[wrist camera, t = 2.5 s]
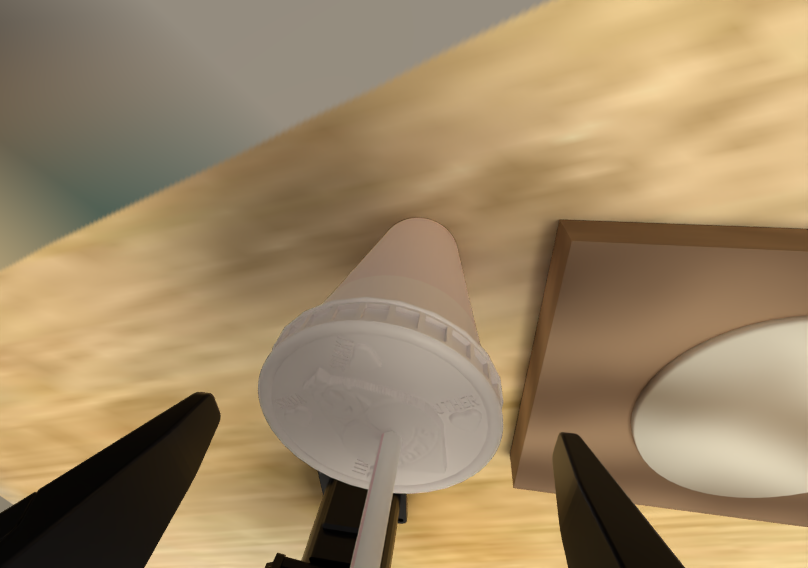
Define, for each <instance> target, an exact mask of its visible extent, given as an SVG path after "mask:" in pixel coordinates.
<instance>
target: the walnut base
mask: <svg viewBox="0 0 808 568" xmlns="http://www.w3.org/2000/svg"><path fill="white" fill-rule="evenodd" d="M560 432H567V433H575V434H578V435H579V436H580V437H581V438H582V439H583V441H584V442H585V443H586V444H587V446H588V447H589V448H590V449H591V451H592V452H593V453H594V454H595V456H596V457H597V458H598V459H599V461H600V462H601V463H602V464H603V466H604V467H605V468H606V469H607V471H608V472H609V473H610V474H611V476H612V477H613V478H614V479H615V481H616V482H617V483H618V484H619V486H620V487H621V488H622V489H623V491H624V492H625V493H626V494H627V496H628V497H629V498H630V499H631V501H632V502H633V503H634V504H637V505H645V506H653V507H660V508H668V509H675V510H683V511H690V512H698V513H705V514H713V515H720V516H728V517H735V518H743V519H750V520H758V521H765V522H773V523H780V524H788V525H795V526H803V527H808V229H791V228H764V227H738V226H712V225H685V224H659V223H633V222H606V221H580V220H559V225H558V230H557V235H556V239H555V244H554V249H553V254H552V258H551V263H550V268H549V273H548V277H547V282H546V287H545V291H544V296H543V301H542V306H541V310H540V315H539V320H538V325H537V329H536V334H535V339H534V343H533V348H532V353H531V358H530V362H529V367H528V372H527V377H526V381H525V386H524V391H523V395H522V400H521V405H520V410H519V414H518V419H517V424H516V429H515V433H514V438H513V443H512V448H511V452H510V460H511V469H512V478H513V488H517V489H525V490H532V491H540V492H547V493H555V494H556V490H555V481H554V472H553V463H552V455H553V451H554V447H555V444H556V441H557V437H558V435H559V433H560Z"/></svg>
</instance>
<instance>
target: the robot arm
mask: <svg viewBox="0 0 808 568" xmlns="http://www.w3.org/2000/svg"><path fill="white" fill-rule="evenodd" d="M220 417H221V415H220V411H219V408H218V406H217V403H216V401H215V398H214V396H213V395H212V394H211V393H205V392H196V393H194V394H192V395H190V396H189V397H187V398H186V399H184V400H182V401H181V402H179V403H177V404H176V405H174V406H173V407H171V408H169V409H168V410H166V411H165V412H163V413H161V414H160V415H158V416H156V417H155V418H153V419H152V420H150V421H148V422H147V423H145V424H144V425H142V426H140V427H139V428H137V429H136V430H134V431H132V432H131V433H129V434H127V435H126V436H124V437H123V438H121V439H119V440H118V441H116V442H115V443H113V444H111V445H110V446H108V447H106V448H105V449H103V450H102V451H100V452H98V453H97V454H95V455H94V456H92V457H90V458H89V459H87V460H86V461H84V462H82V463H81V464H79V465H77V466H76V467H74V468H73V469H71V470H69V471H68V472H66V473H65V474H63V475H61V476H60V477H58V478H56V479H55V480H53V481H52V482H50V483H48V484H47V485H45V486H44V487H42V488H40V489H39V490H38V491H37V492H34V493H32V494H31V495H29V496H27V497H26V498H24V499H22V500H21V501H19V502H18V503H16V504H14V505H13V506H11V507H9V508H8V509H6V510H4V511H3V512H1V513H0V568H144V567H145V566H146V564H147V562H148V560H149V558H150V557H151V555H152V553H153V551H154V549H155V548H156V546H157V544H158V542H159V541H160V539H161V537H162V535H163V533H164V532H165V530H166V528H167V526H168V525H169V523H170V521H171V519H172V517H173V516H174V514H175V512H176V510H177V508H178V507H179V505H180V503H181V501H182V500H183V498H184V496H185V494H186V492H187V491H188V489H189V487H190V485H191V483H192V481H193V480H194V478H195V476H196V474H197V471H198V469H199V467H200V465H201V463H202V460H203V458H204V456H205V454H206V451H207V449H208V447H209V445H210V442H211V440H212V438H213V436H214V433H215V431H216V429H217V427H218V424H219V422H220ZM552 463H553V472H554V481H555V490H556V499H557V508H558V517H559V525H560V532H561V537H562V542H563V547H564V551H565V556H566V560H567V565H568V568H685V567H684V566H683V565H682V563H681V562H680V561H679V560H678V558H677V557H676V556H675V555H674V553H673V552H672V551H671V550H670V548H669V547H668V546H667V545H666V543H665V542H664V541H663V539H662V538H661V537H660V536H659V534H658V533H657V532H656V531H655V529H654V528H653V527H652V526H651V524H650V523H649V522H648V521H647V519H646V518H645V517H644V516H643V514H642V513H641V512H640V511H639V509H638V508H637V507H636V506H635V504H634V503H633V502H632V501H631V499H630V498H629V497H628V496H627V494H626V493H625V492H624V491H623V489H622V488H621V487H620V486H619V484H618V483H617V482H616V481H615V479H614V478H613V477H612V476H611V474H610V473H609V472H608V471H607V469H606V468H605V467H604V466H603V464H602V463H601V462H600V461H599V459H598V458H597V457H596V456H595V454H594V453H593V452H592V451H591V449H590V448H589V447H588V446H587V444H586V443H585V442H584V441H583V439H582V438H581V437H580V436H579V435H578V434H575V433H567V432H560V433H559V435H558V437H557V441H556V444H555V447H554V451H553V455H552ZM318 474H319V479H320V483H321V488H322V492H323V498H322V501H321V504H320V507H319V510H318V513H317V516H316V519H315V522H314V525H313V528H312V531H311V534H310V537H309V540H308V543H307V546H306V548H305V551H304V554H303V557H302V560H301V561H300V560H296V559H292V558H288V557H286V555H284V554H280V553H277V554H276V556H275V559H274V561H273V562H270V563H267V564H266V566H265V568H350V565H351V561H352V557H353V552H354V548H355V544H356V540H357V535H358V531H359V527H360V523H361V518H362V514H363V510H364V506H365V501H366V497H367V493H368V489H364V488H360V487H357V486H353V485H349V484H347V483H344V482H342V481H339V480H337V479H334V478H331V477H329V476H327V475H326V474H324V473H322V472H320V471H318ZM406 521H407V494H405V493H393V496H392V501H391V507H390V513H389V518H388V524H387V530H386V536H385V541H384V547H383V553H382V558H381V564H380V568H391V562H392V556H393V549H394V543H395V536H396V530H397V523H400V524H403V523H406Z"/></svg>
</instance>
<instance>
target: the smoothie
mask: <svg viewBox="0 0 808 568" xmlns="http://www.w3.org/2000/svg"><path fill="white" fill-rule="evenodd" d="M258 395H259V401H260V406H261V408H262V411H263V414H264V416H265V418H266V420H267V422H268V424H269V426H270V427H271V429H272V431H273V432H274V433H275V435H276V436H277V437H278V438H279V440H280V441H281V442H282V443H283V444H284V445H285V446H286V447H287V448H288V449H289V450H290V451H291V452H292V453H293V454H294V455H296V456H297V457H298V458H299V459H301V460H302V461H304V462H305V463H307V464H308V465H310V466H311V467H312V468H314V469H316V470H318V471H320V472H322V473H324V474H326V475H327V476H329V477H331V478H334V479H337V480H339V481H342V482H344V483H347V484H349V485H353V486H357V487H360V488H364V489H368V493H367V497H366V501H365V506H364V510H363V514H362V518H361V523H360V527H359V531H358V535H357V540H356V544H355V548H354V552H353V557H352V561H351V565H350V568H380V564H381V558H382V553H383V547H384V541H385V536H386V530H387V524H388V518H389V513H390V507H391V501H392V496H393V493H405V494H411V493H423V492H431V491H435V490H440V489H444V488H448V487H450V486H453V485H455V484H458V483H460V482H463V481H465V480H466V479H468V478H470V477H471V476H473V475H475V474H476V473H477V472H479V471H480V470H481V469H482V468H483V467H485V466H486V465H487V464H488V462H489V461H490V460H491V459H492V457H493V456H494V454H495V453H496V451H497V449H498V447H499V445H500V442H501V438H502V433H503V415H502V406H503V395H502V388H501V380H500V376H499V375H498V373H497V371H496V369H495V367H494V365H493V363H492V361H491V359H490V357H489V355H488V353H487V352H486V351H485V350H484V349H483V348H482V347H481V345H480V341H479V336H478V333H477V329H476V325H475V321H474V316H473V312H472V308H471V304H470V299H469V295H468V291H467V286H466V282H465V278H464V273H463V269H462V265H461V261H460V256H459V252H458V248H457V244H456V242H455V239H454V238H453V236H452V235H451V233H450V232H449V231H448V230H447V229H446V228H445V227H444V226H442V225H441V224H439V223H437V222H435V221H433V220H430V219H425V218H410V219H406V220H403V221H401V222H399V223H397V224H395V225H394V226H393V227H391V228H390V229H389V231H388V232H387V233H386V234H385V235H384V236H383V237H382V238H381V239H380V241H379V242H378V243H377V244H376V245H375V246H374V247H373V248H372V249H371V251H370V252H369V253H368V254H367V255H366V256H365V257H364V258H363V259H362V261H361V262H360V263H359V264H358V265H357V266H356V267H355V268H354V270H353V271H352V272H351V273H350V274H349V275H348V276H347V277H346V278H345V280H344V281H343V282H342V283H341V284H340V285H339V286H338V287H337V288H336V290H335V291H334V292H333V293H332V294H331V295H330V296H329V297H328V298H327V299H326V300H325V301H324V302H323V304H321V305H319V306H316V307H314V308H311V309H308V310H306V311H304V312H303V313H302V314H300V315H299V316H298V317H297V318H295V319H294V320H293V321H292V322H291V323H289V324H288V325H287V326H286V327H284V329H283V331H282V332H281V334H280V336H279V338H278V339H277V341H276V343H275V344H274V346H273V348H272V351H271V353H270V354H269V356H268V357H267V359H266V361H265V363H264V364H263V367H262V369H261V372H260V376H259V381H258Z"/></svg>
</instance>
